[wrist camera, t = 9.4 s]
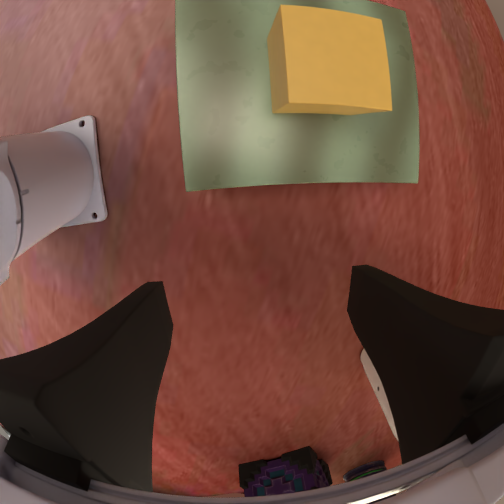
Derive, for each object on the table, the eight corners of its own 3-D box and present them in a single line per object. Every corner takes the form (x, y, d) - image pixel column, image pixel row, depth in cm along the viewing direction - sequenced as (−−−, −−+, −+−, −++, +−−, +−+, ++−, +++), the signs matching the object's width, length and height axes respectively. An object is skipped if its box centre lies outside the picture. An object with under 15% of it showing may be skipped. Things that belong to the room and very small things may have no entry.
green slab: (196, 179, 19) (185, 192, 14) (186, 21, 14) (175, -6, 10) (384, 172, 19) (418, 183, 15) (375, 28, 14) (405, 11, 10)
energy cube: (268, 481, 40) (274, 531, 29) (238, 464, 35) (242, 526, 24) (327, 464, 38) (341, 516, 27) (308, 446, 34) (323, 511, 23)
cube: (271, 113, 13) (288, 103, 9) (266, 38, 11) (279, 4, 7) (351, 115, 13) (393, 111, 9) (345, 44, 12) (382, 19, 7)
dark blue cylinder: (365, 461, 40) (384, 518, 27) (392, 458, 43) (411, 508, 29) (333, 480, 44) (347, 532, 30) (362, 477, 46) (377, 524, 32)
